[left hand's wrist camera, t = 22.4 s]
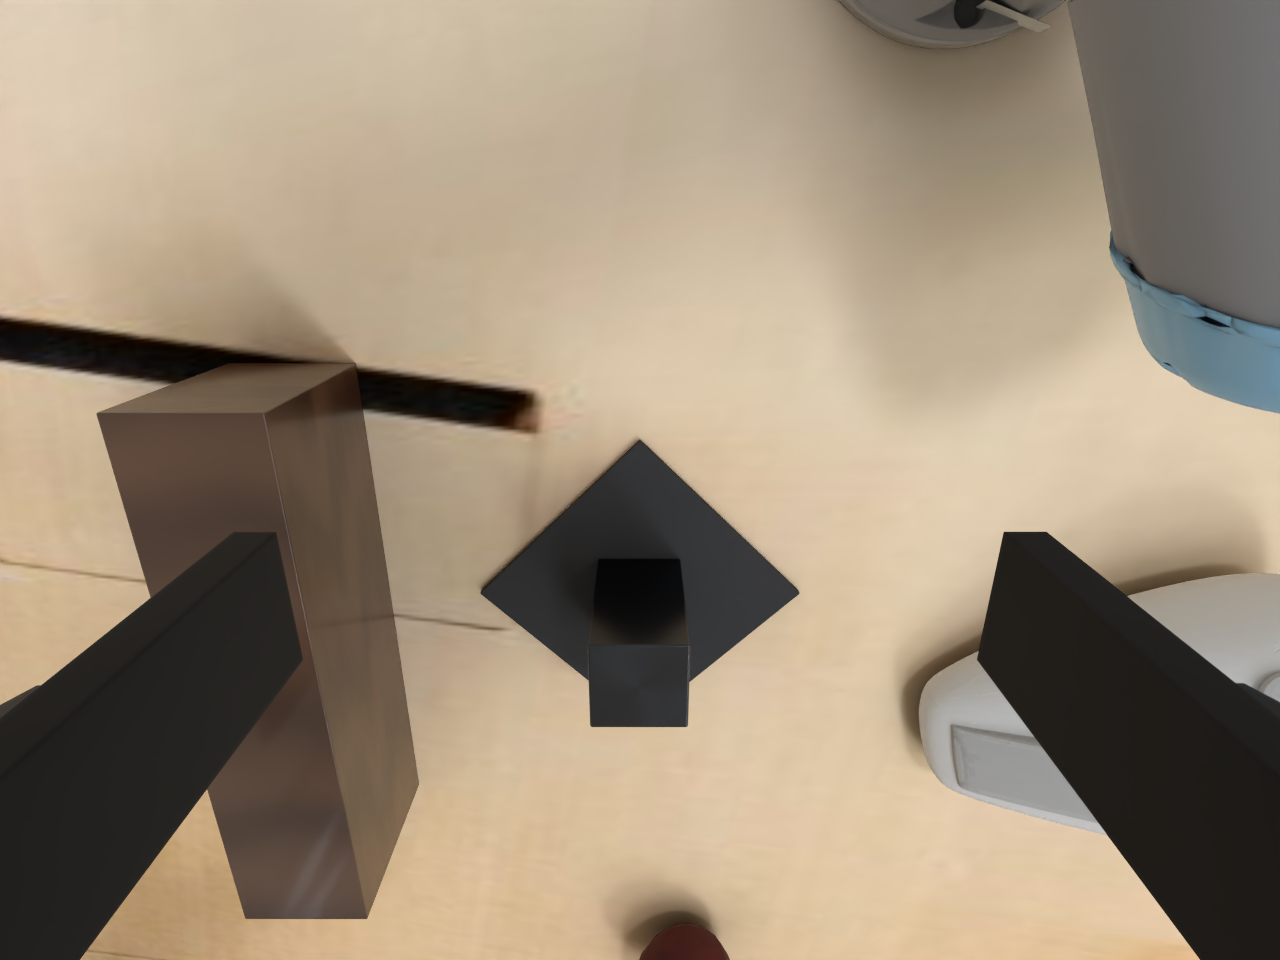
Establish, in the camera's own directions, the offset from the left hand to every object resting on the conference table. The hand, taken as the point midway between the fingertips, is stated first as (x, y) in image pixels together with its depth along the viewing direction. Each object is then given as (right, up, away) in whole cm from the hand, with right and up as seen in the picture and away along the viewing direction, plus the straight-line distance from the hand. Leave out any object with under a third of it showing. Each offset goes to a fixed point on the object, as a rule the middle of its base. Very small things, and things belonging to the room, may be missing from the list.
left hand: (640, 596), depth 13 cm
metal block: (0, -5, +30) cm, 31 cm away
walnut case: (-19, -5, +31) cm, 37 cm away
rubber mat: (0, -5, +31) cm, 31 cm away
